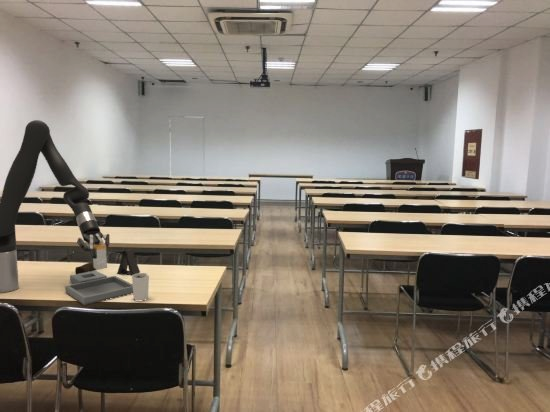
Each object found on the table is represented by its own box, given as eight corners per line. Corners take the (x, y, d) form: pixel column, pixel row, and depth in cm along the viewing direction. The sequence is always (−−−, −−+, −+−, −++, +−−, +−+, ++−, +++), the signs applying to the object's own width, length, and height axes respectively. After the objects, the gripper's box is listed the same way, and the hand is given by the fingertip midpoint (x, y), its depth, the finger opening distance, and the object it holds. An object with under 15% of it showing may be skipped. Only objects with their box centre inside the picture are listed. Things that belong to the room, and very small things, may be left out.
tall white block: (97, 269, 181) (96, 246, 179) (93, 267, 184) (92, 244, 182) (107, 267, 184) (105, 244, 182) (103, 265, 186) (101, 243, 185)
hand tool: (83, 276, 208) (83, 265, 207) (74, 275, 209) (74, 264, 208) (111, 264, 230) (111, 254, 229) (103, 263, 231) (103, 253, 230)
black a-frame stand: (139, 272, 216) (139, 248, 214) (133, 275, 210) (133, 251, 208) (123, 270, 218) (122, 247, 216) (116, 274, 212) (116, 250, 210)
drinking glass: (129, 300, 176) (128, 277, 175) (137, 295, 183) (136, 272, 181) (144, 302, 175) (144, 278, 174) (152, 296, 182) (151, 273, 180)
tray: (84, 305, 170) (83, 298, 170) (65, 292, 184) (65, 285, 184) (136, 292, 186) (136, 286, 185) (115, 282, 200) (115, 275, 199)
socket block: (80, 287, 191) (80, 281, 190) (70, 281, 199) (69, 275, 199) (107, 282, 199) (106, 276, 199) (96, 276, 207) (95, 270, 207)
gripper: (72, 221, 182) (85, 254, 175) (106, 217, 192) (119, 249, 185) (69, 231, 186) (81, 264, 180) (101, 227, 196) (114, 258, 189)
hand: (100, 256), depth 182 cm, fingers closed on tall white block, 4 cm apart
